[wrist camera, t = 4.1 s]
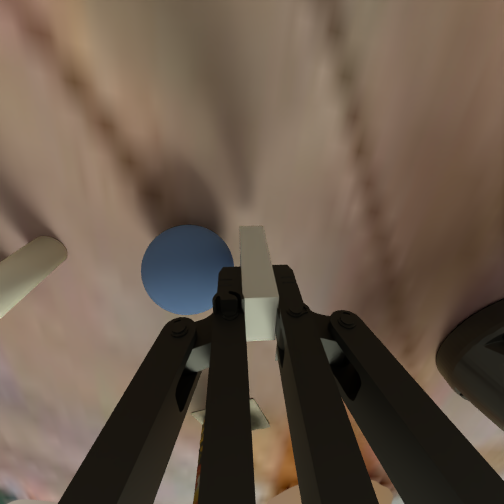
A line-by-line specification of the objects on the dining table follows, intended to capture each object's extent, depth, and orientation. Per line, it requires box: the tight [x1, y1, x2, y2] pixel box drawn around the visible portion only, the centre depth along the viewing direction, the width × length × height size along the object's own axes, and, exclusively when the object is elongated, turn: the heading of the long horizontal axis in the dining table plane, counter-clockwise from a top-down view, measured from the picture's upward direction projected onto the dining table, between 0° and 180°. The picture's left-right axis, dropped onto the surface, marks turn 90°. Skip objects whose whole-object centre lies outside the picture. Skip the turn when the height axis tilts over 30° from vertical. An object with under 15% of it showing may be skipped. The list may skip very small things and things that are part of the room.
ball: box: [141, 225, 234, 315], centre depth 17 cm, size 6×6×6 cm
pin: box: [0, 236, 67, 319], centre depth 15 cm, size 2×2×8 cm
